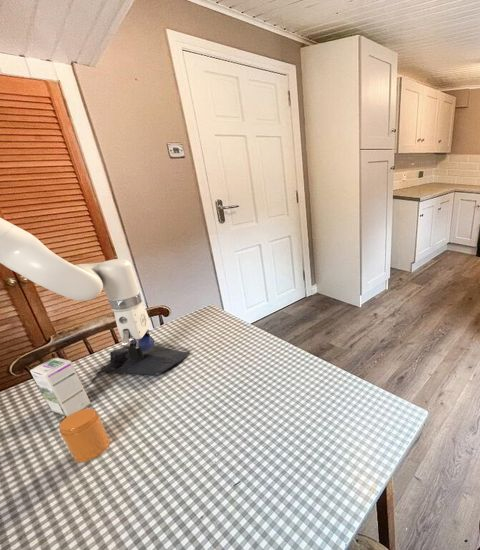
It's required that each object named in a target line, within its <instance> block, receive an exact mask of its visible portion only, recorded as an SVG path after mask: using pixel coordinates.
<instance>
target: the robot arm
mask: <svg viewBox="0 0 480 550" xmlns="http://www.w3.org/2000/svg"><path fill="white" fill-rule="evenodd" d="M0 264H1V265H3V267H5V268H7V269H9V270H10V271H13V272H15V273H16V274H18V275H20V276H22V277H24V278H25V279H27V280H29V281H30V282H32V283H34V284H36V285H38V286H40V287H42V288H44V289H46V290H48V291H51V292H52V293H55V294H57V295H59V296H62V297H65V298H67V299H69V300H72V301H77V302H87V301H91V300H94V299H95V298H98V296H99V295H101V293H102V291H103V290H104V292H105V295H106V298H107V301H108V305H109V307H110V310H111V311H113V315H114V319H115V324H116V328H117V332H118V334H119V337H120V339H121V340H122V347H125V348H126V349H127V350H128V352H129V355H130V358H131V360H136V359H142V358H143V357H144V355H143V352H142V349H141V346H140V347H139V341H138V339H141V338H142V337H144V336H150V337H151V335H150V330H149V329H150V327H151V320H150V317H149V314H148V311H147V309H146V307H145V304H144V301H143V298H142V295H141V293H140V289H139V285H138V281H137V279H136V275H135V272H134V268H133V266H132V263H131V262H130V260H128V259H125V258H115V259H109V260H105V261H103V262H91V263H77V264H73V263H71V262H69V261H67V260H66V259H64V258H63V257H61V256H60V255H57V254H56V253H55V252H54V251H52V250H51V249H49V248H48V247H47V246H46V245H45V244H44V243H42V241H40V240H39V238H37V237H36V236H35V235H33V234H32V233H30V232H28V231H27V230H24V229H23V228H21V227H20V226H17V225H15V224H13V223H11V222H10V221H8V220H6V219H5V218H2V217H0ZM131 337H132V338H131ZM133 340H135V344H133V343H130V341H133Z"/></svg>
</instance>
